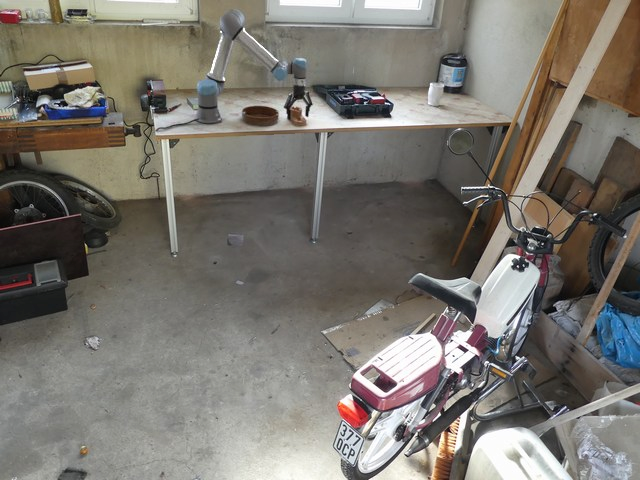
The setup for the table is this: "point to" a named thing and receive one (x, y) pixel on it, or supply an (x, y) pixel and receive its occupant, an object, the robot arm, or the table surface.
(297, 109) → the bracket
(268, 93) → the table surface
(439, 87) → the jar
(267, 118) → the brown shallow bowl
